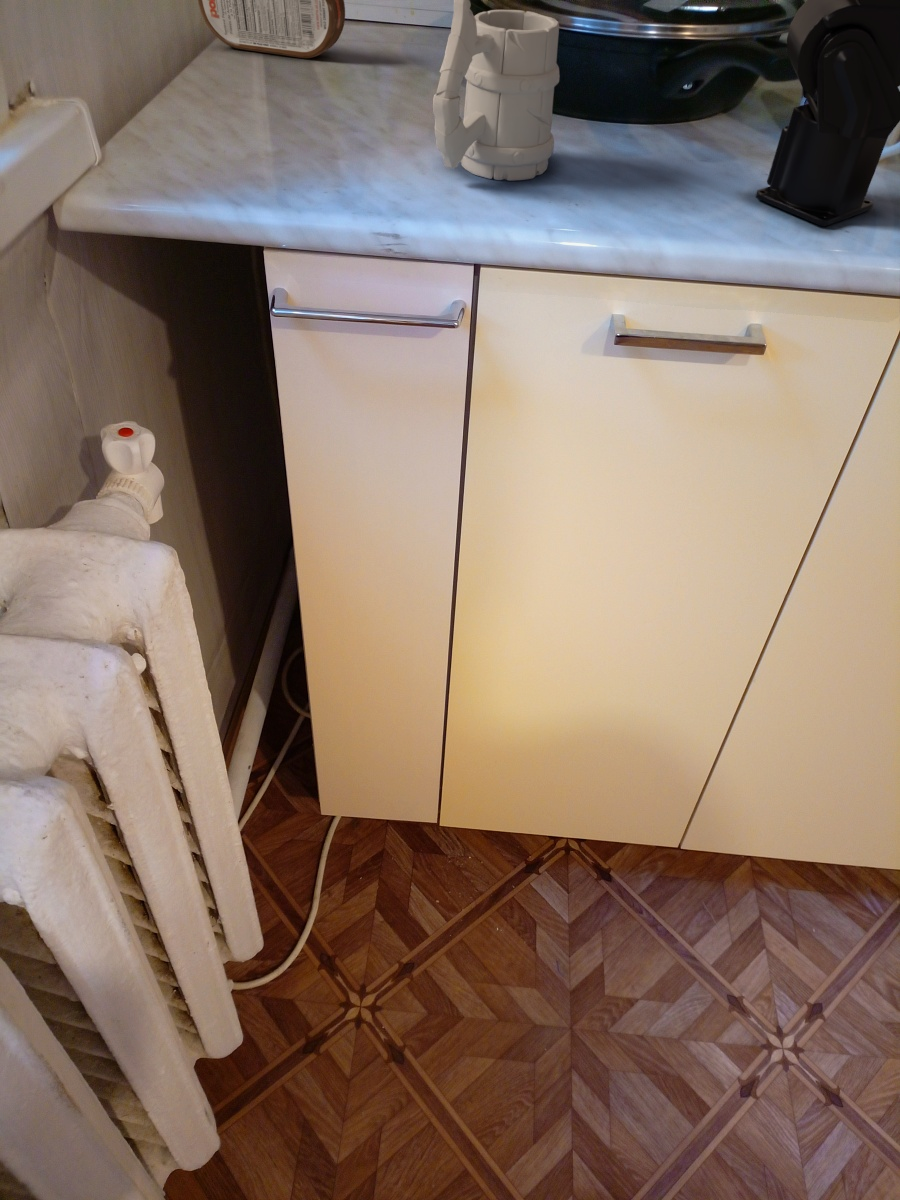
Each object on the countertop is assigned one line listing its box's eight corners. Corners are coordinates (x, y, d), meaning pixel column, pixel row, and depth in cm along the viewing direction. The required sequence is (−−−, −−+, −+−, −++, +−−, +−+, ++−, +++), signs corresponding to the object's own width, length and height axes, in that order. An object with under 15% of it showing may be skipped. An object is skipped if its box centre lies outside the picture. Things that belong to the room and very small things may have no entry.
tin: (348, 57, 88) (344, -44, 82) (337, 65, 86) (332, -38, 80) (213, 39, 91) (200, -61, 84) (199, 47, 88) (184, -55, 82)
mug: (570, 166, 70) (595, -13, 61) (472, 204, 63) (484, 11, 55) (499, 140, 73) (513, -32, 64) (399, 174, 67) (400, -12, 58)
